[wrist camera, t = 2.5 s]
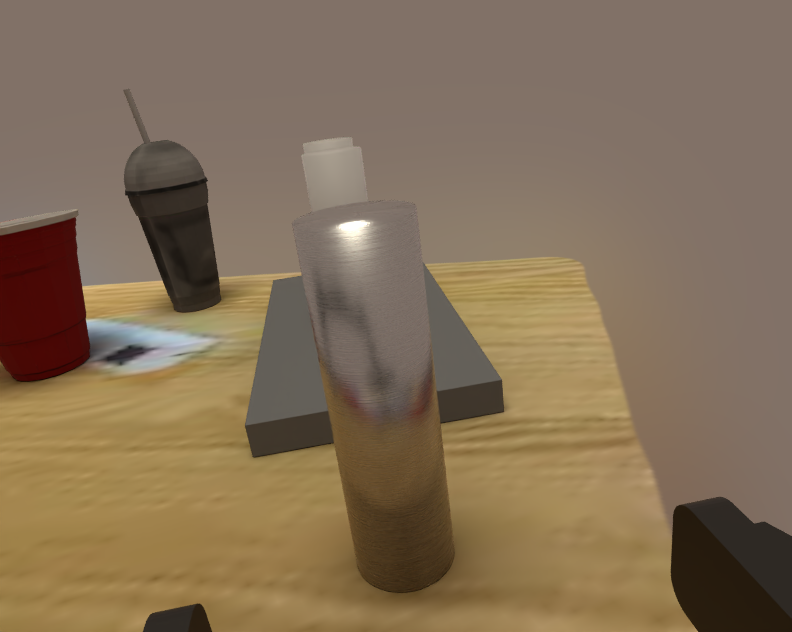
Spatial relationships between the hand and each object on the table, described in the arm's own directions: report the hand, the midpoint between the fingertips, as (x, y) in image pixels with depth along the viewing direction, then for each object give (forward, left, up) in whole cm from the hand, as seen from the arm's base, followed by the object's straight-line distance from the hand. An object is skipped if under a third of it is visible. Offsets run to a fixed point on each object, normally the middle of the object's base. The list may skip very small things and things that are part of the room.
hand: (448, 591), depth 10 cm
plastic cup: (-25, +39, -10) cm, 48 cm away
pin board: (0, +33, -10) cm, 35 cm away
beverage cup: (-15, +49, -10) cm, 53 cm away
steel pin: (0, +11, -10) cm, 15 cm away
